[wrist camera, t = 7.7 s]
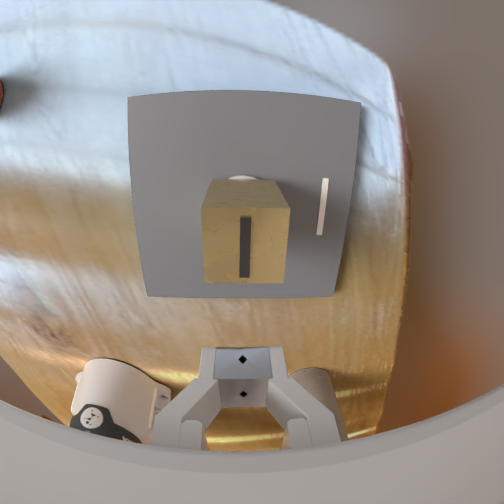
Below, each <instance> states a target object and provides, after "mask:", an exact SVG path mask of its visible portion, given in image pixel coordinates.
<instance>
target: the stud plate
mask: <svg viewBox="0 0 504 504" xmlns="http://www.w3.org/2000/svg"><path fill="white" fill-rule="evenodd" d="M360 108H361V103H359V102H354V101H348V100H342V99H336V98H329V97H322V96H315V95H306V94H296V93H285V92H271V91H249V90H205V91H184V92H170V93H159V94H150V95H141V96H134V97H128V144H129V163H130V177H131V188H132V199H133V208H134V217H135V225H136V232H137V239H138V246H139V253H140V259H141V265H142V271H143V276H144V282H145V287H146V292H147V296H153V297H184V298H302V297H333V294H334V290H335V285H336V280H337V276H338V271H339V266H340V261H341V256H342V250H343V245H344V239H345V234H346V228H347V222H348V216H349V209H350V203H351V196H352V188H353V181H354V173H355V164H356V155H357V145H358V135H359V122H360ZM212 179H257V180H275V182H276V184H277V186H278V187H279V189H280V191H281V193H282V194H283V196H284V198H285V200H286V202H287V203H288V205H289V207H290V219H289V230H288V241H287V251H286V262H285V271H284V281H283V283H205V279H204V262H203V242H202V218H201V206H202V204H203V201H204V198H205V196H206V193H207V190H208V188H209V185H210V183H211V180H212Z"/></svg>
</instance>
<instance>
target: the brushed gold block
mask: <svg viewBox="0 0 504 504" xmlns="http://www.w3.org/2000/svg"><path fill="white" fill-rule="evenodd" d="M201 218H202V242H203V262H204V279H205V283H283V281H284V271H285V262H286V251H287V241H288V230H289V219H290V207H289V205H288V203H287V202H286V200H285V198H284V196H283V194H282V193H281V191H280V189H279V187H278V186H277V184H276V182H275V180H257V179H212V180H211V183H210V185H209V188H208V190H207V193H206V196H205V198H204V201H203V204H202V206H201Z"/></svg>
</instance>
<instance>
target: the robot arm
mask: <svg viewBox="0 0 504 504" xmlns="http://www.w3.org/2000/svg"><path fill="white" fill-rule="evenodd" d="M75 379H76V381H77V383H78V385H77V388H76V392H75V395H74V399H73V402H72V406H71V412H72V414H73V415H74V416H73V417H72V418H71V421H70V423H69V425H68V426H64V425H61V424H58V423H55V422H52V421H50V420H47V419H44V418H41V417H38V416H36V415H33V414H31V413H28V412H26V411H24V410H21V409H19V408H17V407H14V406H12V405H10V404H8V403H6V402H4V401H2V400H0V504H504V385H502V386H500V387H498V388H496V389H494V390H493V391H491V392H489V393H487V394H485V395H483V396H481V397H479V398H476V399H474V400H472V401H470V402H468V403H466V404H463V405H461V406H459V407H456V408H454V409H452V410H449V411H447V412H444V413H442V414H439V415H436V416H434V417H431V418H428V419H425V420H422V421H420V422H417V423H413V424H410V425H407V426H404V427H401V428H397V429H394V430H390V431H387V432H383V433H379V434H375V435H371V436H366V437H362V438H357V439H352V440H347V441H342V442H341V440H340V436H339V432H338V428H337V425H336V421H335V417H334V414H333V413H332V412H331V411H330V410H329V409H327V408H326V407H325V406H324V405H323V404H322V403H320V402H319V401H318V400H317V399H316V398H315V397H314V396H312V395H311V394H310V393H309V392H308V391H307V390H306V389H304V388H303V387H302V386H301V385H300V384H299V383H298V382H297V381H295V380H294V379H293V378H288V373H287V367H286V362H285V356H284V351H283V347H282V346H269V347H203V348H202V352H201V360H200V368H199V376H198V379H194V380H193V381H192V382H191V383H190V384H188V385H187V386H186V387H185V388H184V389H183V390H182V391H181V392H180V393H179V394H178V395H177V396H176V397H175V398H174V399H173V400H172V401H171V389H170V388H168V387H166V386H164V385H162V384H160V383H157V382H155V381H154V380H152V379H151V378H149V377H148V376H147V375H146V374H144V373H143V372H141V371H139V370H138V369H136V368H134V367H132V366H130V365H127V364H125V363H122V362H119V361H116V360H111V359H93V360H90V361H88V362H87V363H86V364H85V366H84V369H83V371H82V372H79V373H78V374H77V375H76V378H75ZM235 407H266V409H267V410H268V411H269V412H270V414H271V415H272V416H273V417H274V419H275V420H276V421H277V422H278V423H279V425H280V426H281V427H282V428H283V429H284V431H285V434H284V438H283V442H282V446H281V449H280V450H264V451H209V447H208V444H207V440H206V436H205V430H206V429H207V428H208V426H209V425H210V424H211V422H212V421H213V420H214V418H215V417H216V416H217V414H218V413H219V412H220V410H221V408H235Z"/></svg>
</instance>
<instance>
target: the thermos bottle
mask: <svg viewBox="0 0 504 504" xmlns="http://www.w3.org/2000/svg"><path fill="white" fill-rule="evenodd" d="M288 378H293V379H294V380H295V381H297V382H298V383H299V384H300V385H301V386H302V387H303V388H304V389H306V390H307V391H308V392H309V393H310V394H311V395H312V396H314V397H315V398H316V399H317V400H318V401H319V402H320V403H322V404H323V405H324V406H325V407H326V408H327V409H329V410H330V411H331V412H332V413H333V414H334V417H335V421H336V425H337V428H338V432H339V436H340V440H341V442H342V441H347V440H348V437H347V433H346V429H345V426H344V423H343V419H342V416H341V412H340V409H339V405H338V402H337V399H336V395H335V392H334V389H333V385H332V382H331V379H330V376H329V374H328V372H326V371H325V370H323V369H320V368H307V369H302V370H299V371H297V372H294V373H293V374H291V375H290V376H288Z"/></svg>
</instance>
